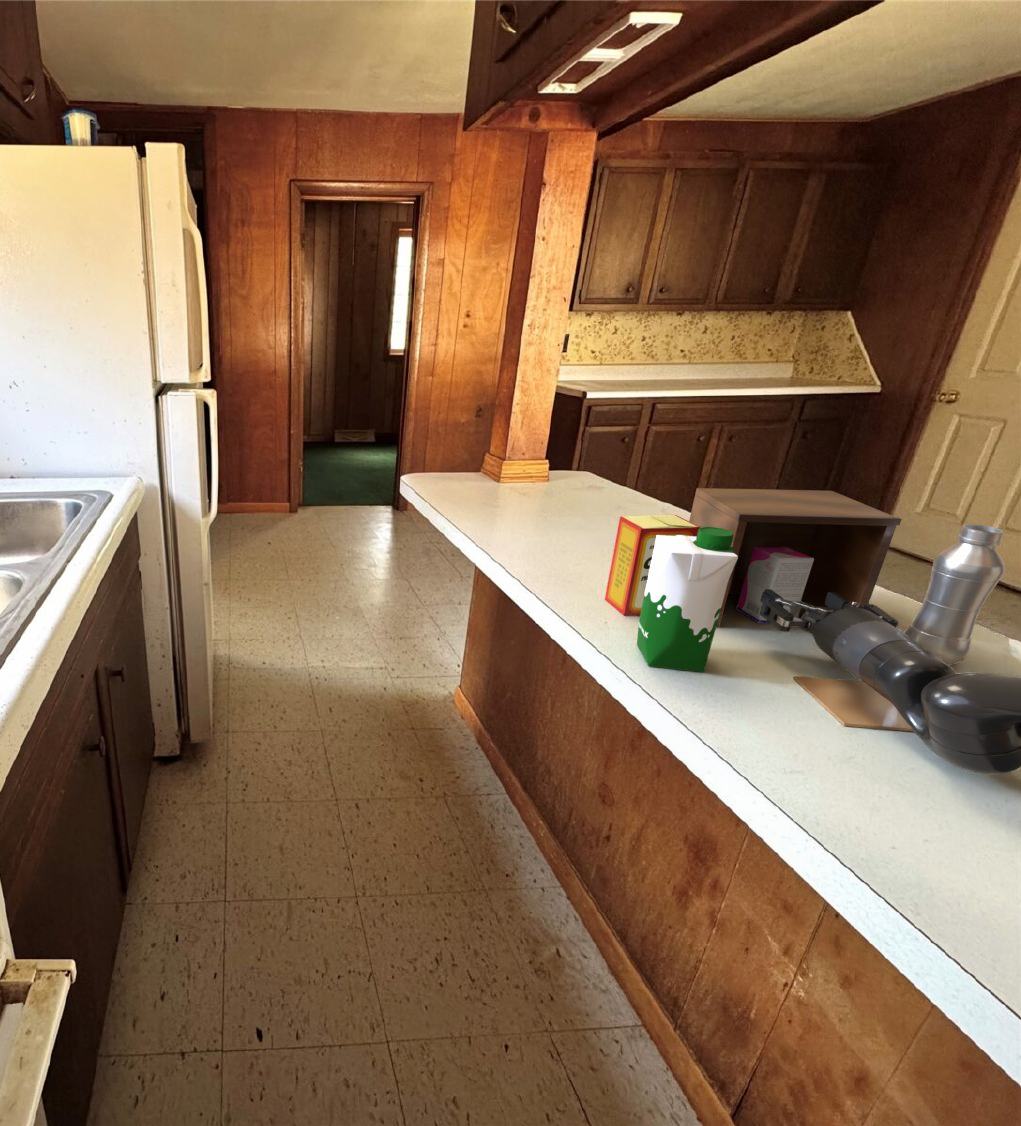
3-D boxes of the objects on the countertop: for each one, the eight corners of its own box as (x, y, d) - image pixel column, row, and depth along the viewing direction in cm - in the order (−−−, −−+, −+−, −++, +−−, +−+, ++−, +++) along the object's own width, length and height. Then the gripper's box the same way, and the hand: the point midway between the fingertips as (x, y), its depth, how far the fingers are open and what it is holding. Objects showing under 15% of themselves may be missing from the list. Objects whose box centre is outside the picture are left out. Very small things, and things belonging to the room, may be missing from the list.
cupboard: (859, 636, 96) (902, 518, 89) (710, 627, 100) (739, 514, 93) (800, 594, 111) (833, 490, 104) (672, 588, 115) (695, 487, 108)
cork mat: (885, 684, 84) (886, 682, 84) (950, 734, 74) (951, 732, 74) (792, 678, 86) (793, 675, 86) (843, 725, 76) (844, 723, 76)
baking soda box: (623, 615, 105) (641, 526, 99) (604, 599, 111) (620, 514, 105) (679, 614, 105) (701, 524, 99) (657, 598, 111) (676, 512, 105)
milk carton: (713, 676, 87) (749, 543, 80) (641, 668, 90) (669, 538, 82) (693, 646, 95) (724, 522, 87) (627, 640, 97) (652, 519, 90)
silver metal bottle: (897, 643, 94) (946, 517, 87) (962, 658, 89) (1019, 527, 82) (894, 659, 90) (946, 528, 82) (962, 676, 85) (1023, 540, 78)
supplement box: (795, 623, 101) (816, 558, 97) (758, 624, 101) (777, 558, 97) (769, 608, 106) (787, 545, 102) (734, 608, 106) (751, 546, 102)
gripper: (797, 668, 83) (738, 615, 98) (922, 676, 81) (842, 620, 95) (814, 618, 81) (751, 571, 95) (944, 625, 78) (858, 576, 93)
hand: (797, 596), depth 95 cm, fingers open, 8 cm apart
